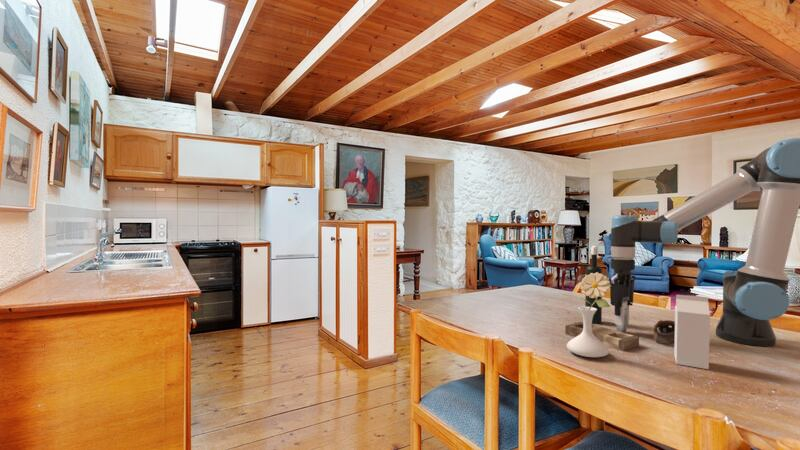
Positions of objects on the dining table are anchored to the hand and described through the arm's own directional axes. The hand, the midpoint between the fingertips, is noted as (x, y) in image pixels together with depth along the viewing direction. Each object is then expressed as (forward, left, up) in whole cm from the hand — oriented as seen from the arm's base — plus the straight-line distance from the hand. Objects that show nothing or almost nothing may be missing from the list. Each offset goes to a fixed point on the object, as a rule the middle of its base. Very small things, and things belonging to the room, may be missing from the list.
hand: (621, 323), depth 136 cm
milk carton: (-26, +13, -3) cm, 29 cm away
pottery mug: (-14, -3, -3) cm, 15 cm away
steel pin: (0, 0, -3) cm, 3 cm away
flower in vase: (-7, +32, -3) cm, 33 cm away
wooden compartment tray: (-1, +15, -3) cm, 15 cm away
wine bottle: (+13, -4, -3) cm, 14 cm away
